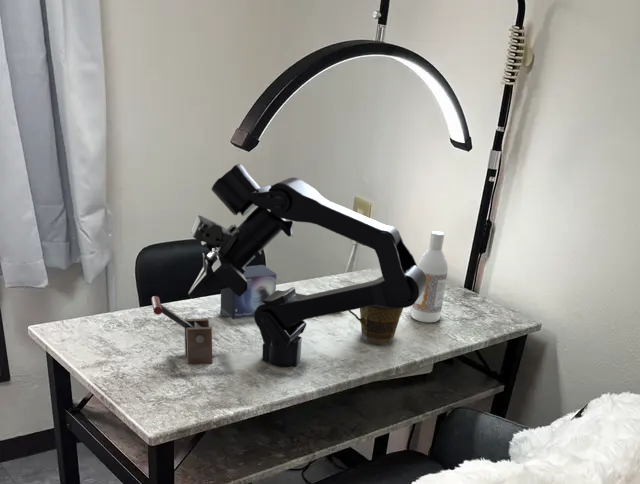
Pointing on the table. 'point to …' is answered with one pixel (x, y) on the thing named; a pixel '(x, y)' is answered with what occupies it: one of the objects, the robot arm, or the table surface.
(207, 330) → the bracket
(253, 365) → the table surface
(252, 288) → the small box
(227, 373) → the table surface
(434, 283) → the bath foam
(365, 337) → the ceramic cup
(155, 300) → the crank
